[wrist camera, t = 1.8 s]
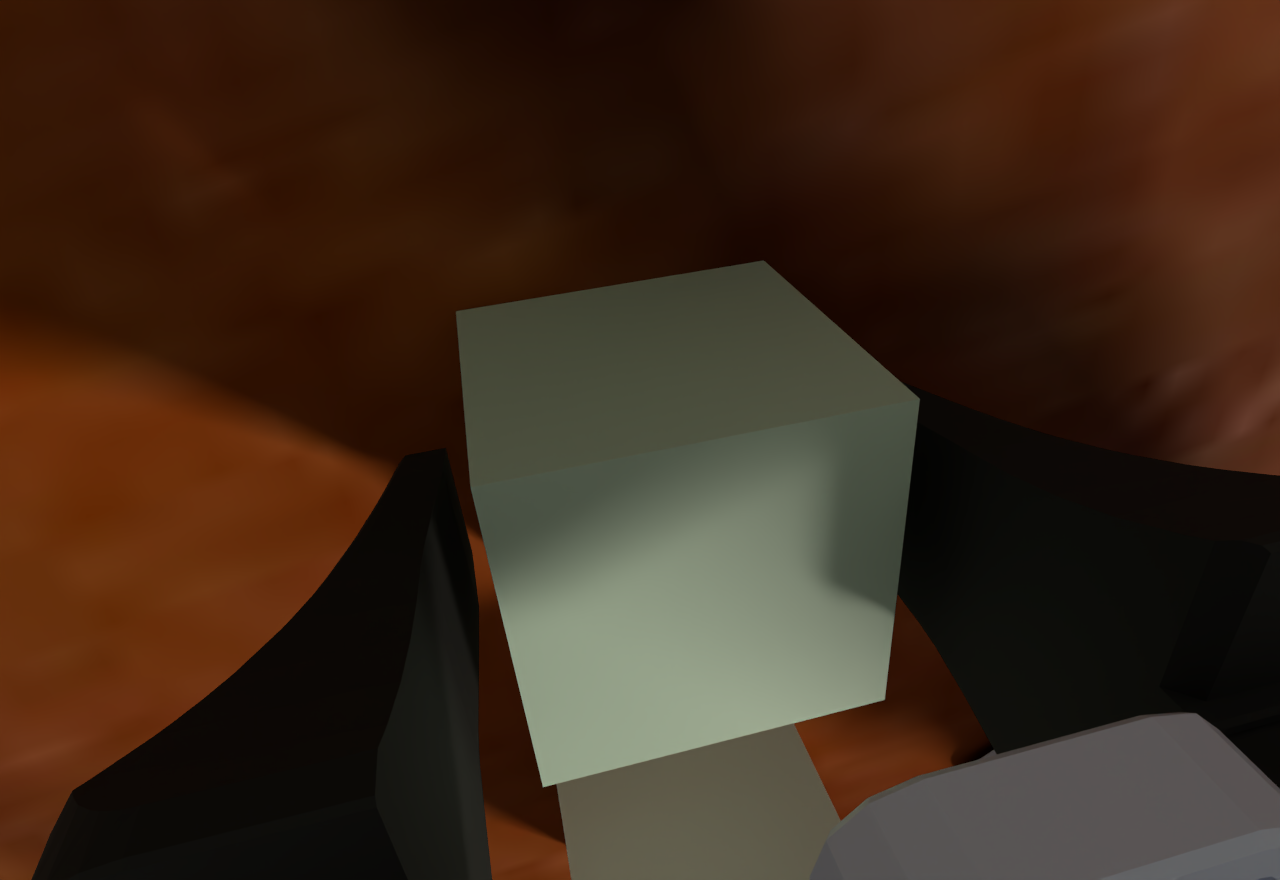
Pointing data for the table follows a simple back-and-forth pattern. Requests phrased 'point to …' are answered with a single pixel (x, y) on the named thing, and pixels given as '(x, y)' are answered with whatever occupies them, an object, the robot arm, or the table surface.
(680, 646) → the sage green block
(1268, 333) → the table surface
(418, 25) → the table surface
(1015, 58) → the table surface
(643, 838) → the cream block
